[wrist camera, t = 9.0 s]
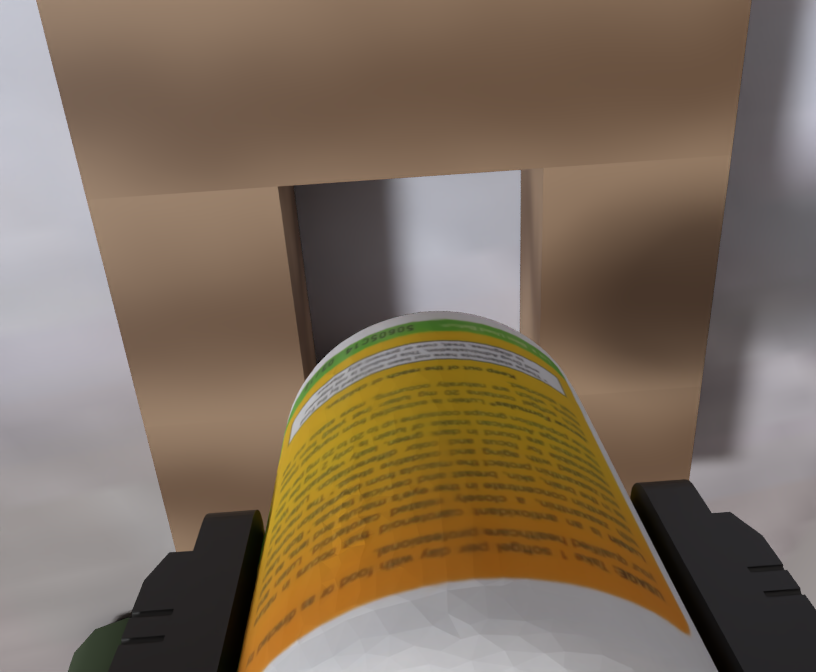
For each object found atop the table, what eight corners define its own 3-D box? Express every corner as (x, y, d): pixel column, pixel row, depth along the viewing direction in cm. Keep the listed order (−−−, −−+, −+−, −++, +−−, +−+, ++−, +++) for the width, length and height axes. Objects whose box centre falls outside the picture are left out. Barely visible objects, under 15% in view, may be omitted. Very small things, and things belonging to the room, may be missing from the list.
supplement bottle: (227, 394, 13) (-98, 1264, 4) (496, 245, 12) (852, 961, 3) (382, 589, 15) (393, 1445, 6) (622, 476, 14) (1049, 1298, 5)
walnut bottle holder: (83, -11, 18) (33, -12, 16) (703, -52, 19) (759, -60, 16) (198, 494, 25) (177, 554, 23) (651, 461, 25) (684, 516, 23)
